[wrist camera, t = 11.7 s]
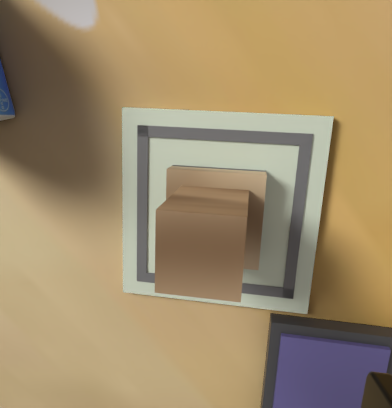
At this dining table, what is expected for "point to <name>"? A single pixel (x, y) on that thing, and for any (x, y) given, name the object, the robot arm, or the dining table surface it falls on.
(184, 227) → the stamp
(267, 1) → the dining table surface
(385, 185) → the dining table surface
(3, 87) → the medicine box
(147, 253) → the mat
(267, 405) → the ink pad
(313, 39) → the dining table surface
